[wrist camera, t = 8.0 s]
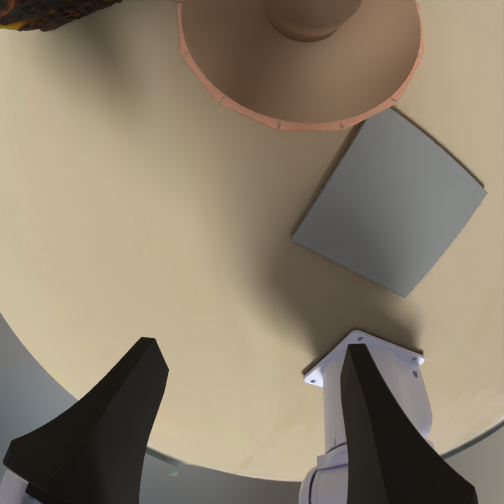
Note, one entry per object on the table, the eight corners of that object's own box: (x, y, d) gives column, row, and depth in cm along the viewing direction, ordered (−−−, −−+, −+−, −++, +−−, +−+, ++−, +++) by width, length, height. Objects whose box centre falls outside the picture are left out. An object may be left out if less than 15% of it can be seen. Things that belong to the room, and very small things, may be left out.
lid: (438, -5, 8) (489, -25, 4) (358, 157, 13) (388, 193, 9) (240, -88, 6) (222, -136, 2) (157, 76, 12) (104, 79, 8)
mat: (484, 190, 15) (487, 192, 15) (403, 294, 21) (405, 298, 20) (376, 99, 14) (378, 100, 13) (291, 237, 19) (291, 240, 19)
